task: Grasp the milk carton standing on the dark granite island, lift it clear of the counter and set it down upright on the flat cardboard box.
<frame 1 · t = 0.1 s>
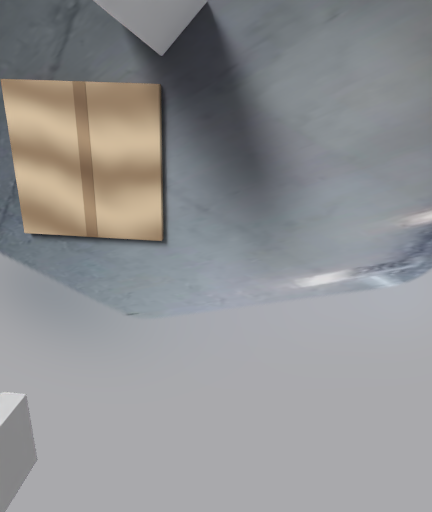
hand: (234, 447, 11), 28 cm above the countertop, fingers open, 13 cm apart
milk: (160, 3, 31), on the countertop
flat cardboard box: (89, 164, 36), on the countertop
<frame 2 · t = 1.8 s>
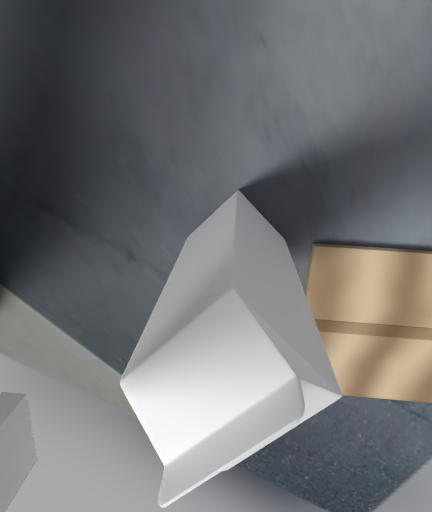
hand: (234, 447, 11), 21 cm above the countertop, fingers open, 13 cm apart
milk: (236, 237, 31), on the countertop
flat cardboard box: (383, 326, 33), on the countertop
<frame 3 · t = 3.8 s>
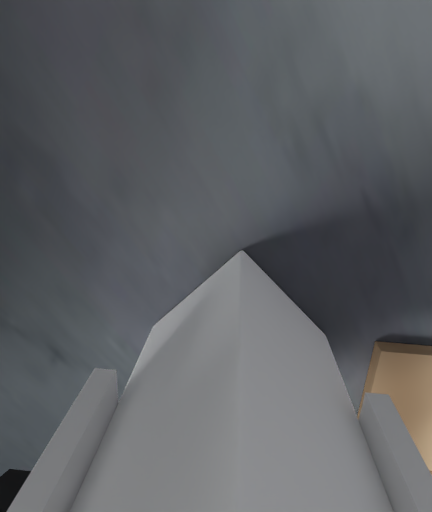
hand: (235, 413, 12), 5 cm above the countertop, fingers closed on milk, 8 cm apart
milk: (238, 327, 18), on the countertop, touching gripper
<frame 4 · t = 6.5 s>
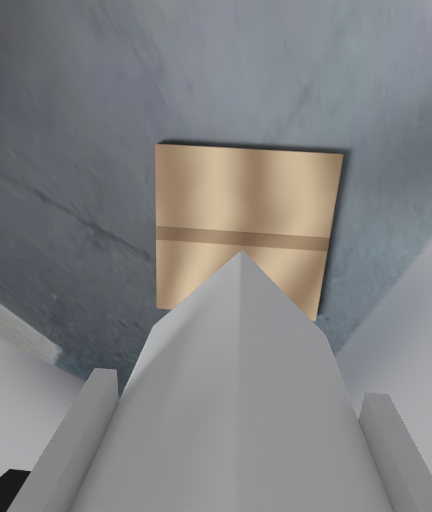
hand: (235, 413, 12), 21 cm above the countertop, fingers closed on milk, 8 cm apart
milk: (238, 328, 18), point 15 cm above the countertop, touching gripper
flat cardboard box: (241, 236, 32), on the countertop
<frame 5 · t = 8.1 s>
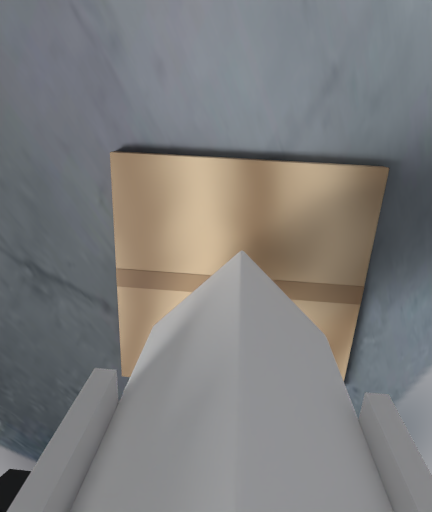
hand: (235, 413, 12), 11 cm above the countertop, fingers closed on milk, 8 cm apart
milk: (238, 328, 18), point 5 cm above the countertop, touching gripper
flat cardboard box: (237, 280, 23), on the countertop
when the fingers open (7 cm above the countertop, at t = 9.4 s): milk drops 1 cm, resting on flat cardboard box.
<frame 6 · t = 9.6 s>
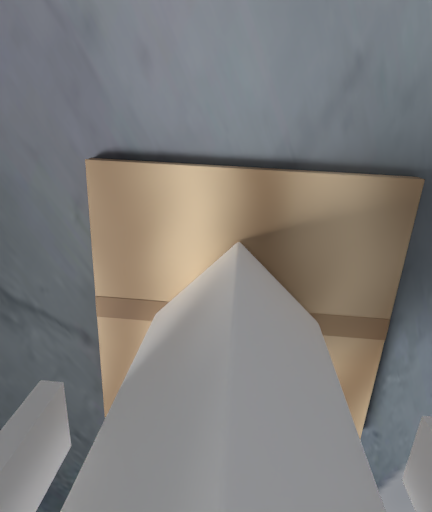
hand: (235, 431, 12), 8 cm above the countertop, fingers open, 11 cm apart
milk: (235, 315, 19), point 1 cm above the countertop, touching flat cardboard box
flat cardboard box: (238, 310, 19), on the countertop
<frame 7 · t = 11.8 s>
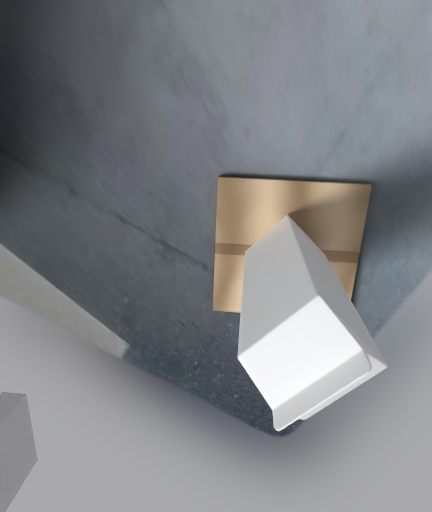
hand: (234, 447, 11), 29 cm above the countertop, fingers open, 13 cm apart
milk: (284, 252, 38), point 1 cm above the countertop, touching flat cardboard box
flat cardboard box: (285, 250, 39), on the countertop
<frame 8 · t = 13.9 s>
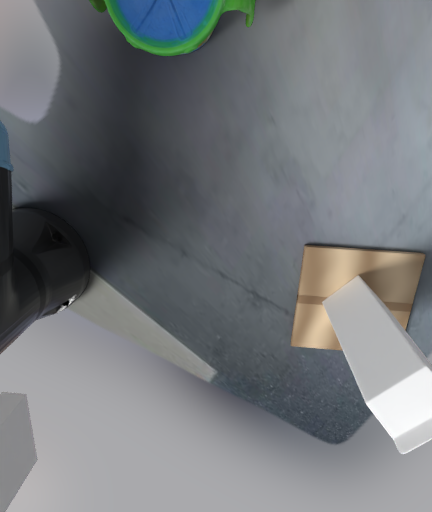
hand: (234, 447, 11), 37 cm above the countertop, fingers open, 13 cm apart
milk: (352, 302, 48), point 1 cm above the countertop, touching flat cardboard box
flat cardboard box: (352, 300, 49), on the countertop
snack cup: (182, 16, 39), on the countertop
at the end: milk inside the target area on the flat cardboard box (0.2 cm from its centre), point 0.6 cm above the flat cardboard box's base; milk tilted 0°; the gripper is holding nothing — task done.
